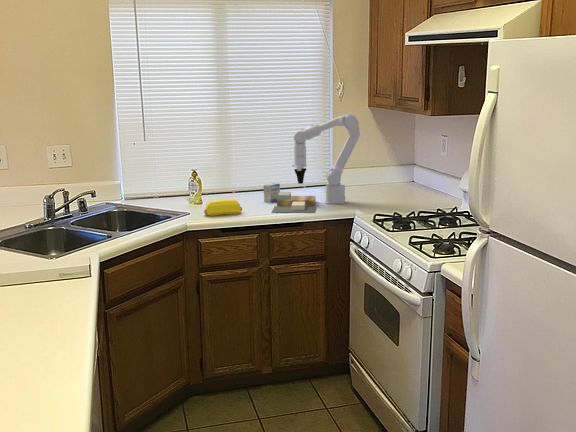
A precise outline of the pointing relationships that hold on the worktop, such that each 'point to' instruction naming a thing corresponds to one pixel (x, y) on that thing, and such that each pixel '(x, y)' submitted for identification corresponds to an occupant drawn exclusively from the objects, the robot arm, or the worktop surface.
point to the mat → (288, 210)
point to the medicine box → (271, 192)
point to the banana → (222, 207)
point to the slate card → (284, 195)
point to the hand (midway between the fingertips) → (300, 183)
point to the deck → (297, 200)
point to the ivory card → (298, 205)
